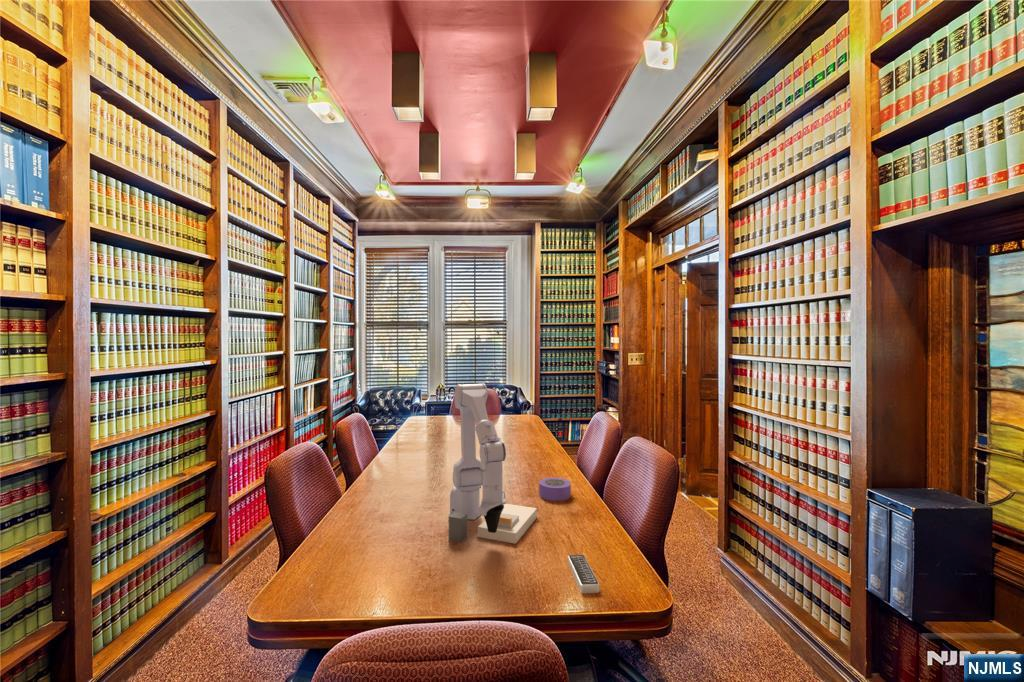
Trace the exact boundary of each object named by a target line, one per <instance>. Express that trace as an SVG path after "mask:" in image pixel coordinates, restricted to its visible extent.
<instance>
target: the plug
mask: <svg viewBox="0 0 1024 682" xmlns="http://www.w3.org/2000/svg"><path fill="white" fill-rule="evenodd" d="M467 538H468V519H467V513H461V512H454V513H453V514H451V515H450V516H449V515H448V541H450V542H456V543H460V544H461V543H463V541H465V539H467Z"/></svg>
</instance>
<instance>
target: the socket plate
mask: <svg viewBox="0 0 1024 682" xmlns="http://www.w3.org/2000/svg"><path fill="white" fill-rule="evenodd" d="M502 513H504V514H511V515H517V516H519V520H518V521H517V522H516V523H515V524H514V525H513V526H512V527H511V528H507V527H501V526H498V528H497V531H496V532H495V533H492V532H488V528H487V524H486V521H485V520H484V521H482V522H481V524H479V525H478V526H477V537H478V538H482V539H486V540H487V539H488V540H493V541H498V542H504V543H510V544H517V542H519V540H520V539H521V538H522V537H523V535H524V534H525V533H526V532H527V530H528V529H529V528H530V527H531V526H532V524H533V523H534V521H536V520H537V518H538V508H537V507H532V506H531V507H530V506H525V505H518V504H517V505H516V504H510V503H505V504H504V509H503V511H502Z"/></svg>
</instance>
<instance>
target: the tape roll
mask: <svg viewBox="0 0 1024 682" xmlns="http://www.w3.org/2000/svg"><path fill="white" fill-rule="evenodd" d="M538 484H539V486H538V487H539V488H538V489H539V490H538V491H539V493H538V495H539V497H540V498H541V499H543V500H546V501H551V502H561V501H566V500H569V499H571V494H572V493H571V488H572V484H571V482H570V481H569V480H568V479H566V478H562V477H544V478H542V479H540V480H539V483H538Z"/></svg>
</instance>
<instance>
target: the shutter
mask: <svg viewBox="0 0 1024 682" xmlns="http://www.w3.org/2000/svg"><path fill="white" fill-rule="evenodd" d="M518 520H519V516H517V515H511V514H504V513H501V515H500V519H499V523H498V526H501V527H507V528H511V527H512V526H513V525H514V524H515V523H516V522H517V521H518Z"/></svg>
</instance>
